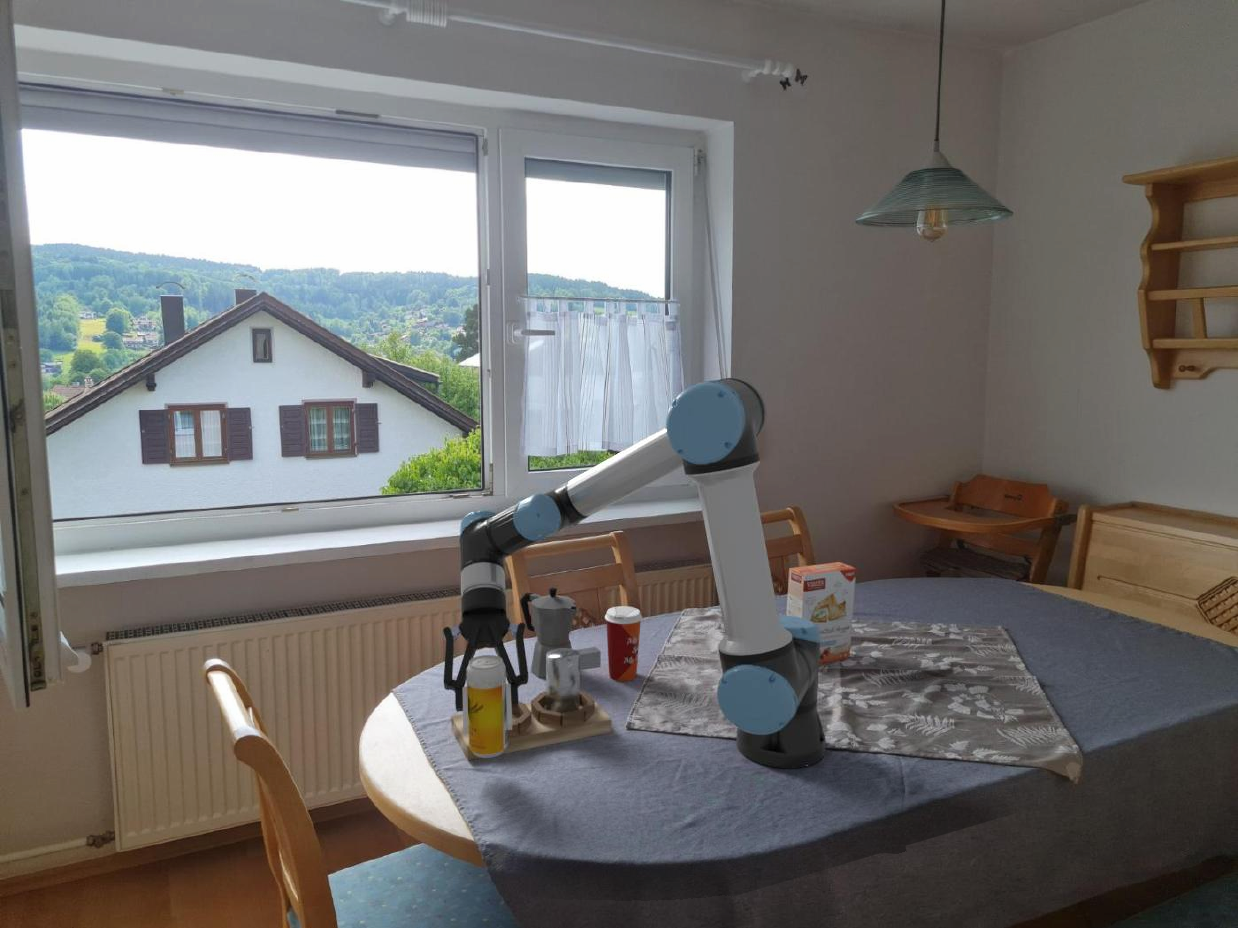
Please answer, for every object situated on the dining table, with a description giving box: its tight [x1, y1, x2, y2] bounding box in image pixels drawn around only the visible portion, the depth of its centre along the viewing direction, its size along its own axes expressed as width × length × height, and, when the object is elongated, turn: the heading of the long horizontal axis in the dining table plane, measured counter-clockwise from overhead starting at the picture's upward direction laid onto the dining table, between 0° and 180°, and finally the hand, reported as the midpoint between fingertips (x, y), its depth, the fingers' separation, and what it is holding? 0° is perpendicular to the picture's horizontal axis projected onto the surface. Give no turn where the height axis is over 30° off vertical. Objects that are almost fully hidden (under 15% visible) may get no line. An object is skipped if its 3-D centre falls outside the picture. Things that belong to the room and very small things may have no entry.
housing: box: [450, 690, 612, 761], centre depth 154 cm, size 12×26×4 cm, turn 114°
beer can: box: [466, 654, 507, 759], centre depth 137 cm, size 6×6×15 cm
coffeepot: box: [519, 587, 580, 679], centre depth 180 cm, size 15×9×18 cm, turn 55°
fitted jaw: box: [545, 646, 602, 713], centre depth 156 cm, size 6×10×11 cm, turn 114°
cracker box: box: [785, 561, 857, 665], centre depth 187 cm, size 14×6×21 cm, turn 115°
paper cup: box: [604, 605, 643, 682], centre depth 177 cm, size 8×8×14 cm
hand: (488, 728), depth 134 cm, fingers closed on beer can, 6 cm apart
